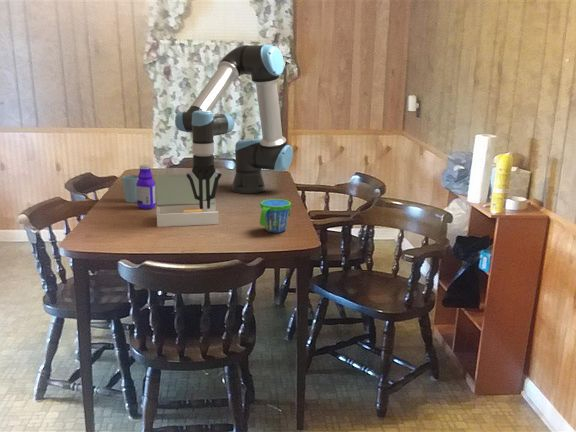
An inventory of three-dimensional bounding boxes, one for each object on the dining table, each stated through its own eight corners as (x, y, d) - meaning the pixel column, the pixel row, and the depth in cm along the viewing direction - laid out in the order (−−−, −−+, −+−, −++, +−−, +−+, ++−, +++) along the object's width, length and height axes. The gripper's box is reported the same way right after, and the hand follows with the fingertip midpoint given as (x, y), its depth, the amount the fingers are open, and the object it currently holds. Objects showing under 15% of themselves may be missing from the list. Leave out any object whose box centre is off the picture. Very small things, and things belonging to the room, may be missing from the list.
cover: (215, 204, 223) (215, 203, 224) (214, 173, 222) (214, 173, 223) (156, 206, 218) (156, 206, 219) (155, 175, 217) (155, 174, 218)
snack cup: (271, 238, 199) (272, 209, 196) (249, 231, 205) (249, 203, 202) (300, 228, 210) (301, 201, 207) (278, 222, 217) (278, 196, 214)
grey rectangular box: (215, 215, 225) (215, 203, 224) (218, 224, 214) (218, 212, 213) (157, 217, 221) (156, 206, 220) (157, 226, 209) (156, 214, 208)
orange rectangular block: (202, 218, 221) (202, 209, 220) (203, 221, 217) (202, 212, 216) (183, 219, 220) (183, 210, 219) (184, 222, 216) (183, 213, 215)
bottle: (158, 206, 236) (156, 164, 232) (151, 210, 231) (148, 166, 227) (143, 205, 239) (140, 163, 234) (135, 208, 233) (132, 165, 229)
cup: (143, 202, 243) (142, 177, 240) (124, 204, 240) (123, 179, 237) (140, 198, 250) (138, 174, 247) (121, 199, 247) (120, 175, 244)
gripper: (220, 152, 216) (221, 213, 222) (184, 153, 213) (186, 215, 219) (222, 155, 209) (223, 219, 215) (185, 156, 206) (187, 220, 212)
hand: (205, 217), depth 217 cm, fingers closed
